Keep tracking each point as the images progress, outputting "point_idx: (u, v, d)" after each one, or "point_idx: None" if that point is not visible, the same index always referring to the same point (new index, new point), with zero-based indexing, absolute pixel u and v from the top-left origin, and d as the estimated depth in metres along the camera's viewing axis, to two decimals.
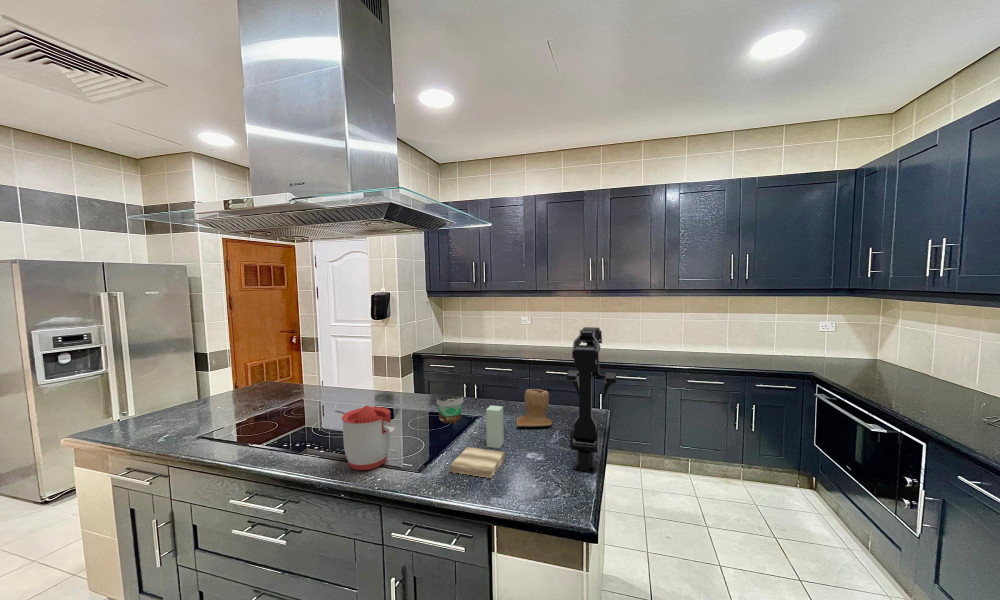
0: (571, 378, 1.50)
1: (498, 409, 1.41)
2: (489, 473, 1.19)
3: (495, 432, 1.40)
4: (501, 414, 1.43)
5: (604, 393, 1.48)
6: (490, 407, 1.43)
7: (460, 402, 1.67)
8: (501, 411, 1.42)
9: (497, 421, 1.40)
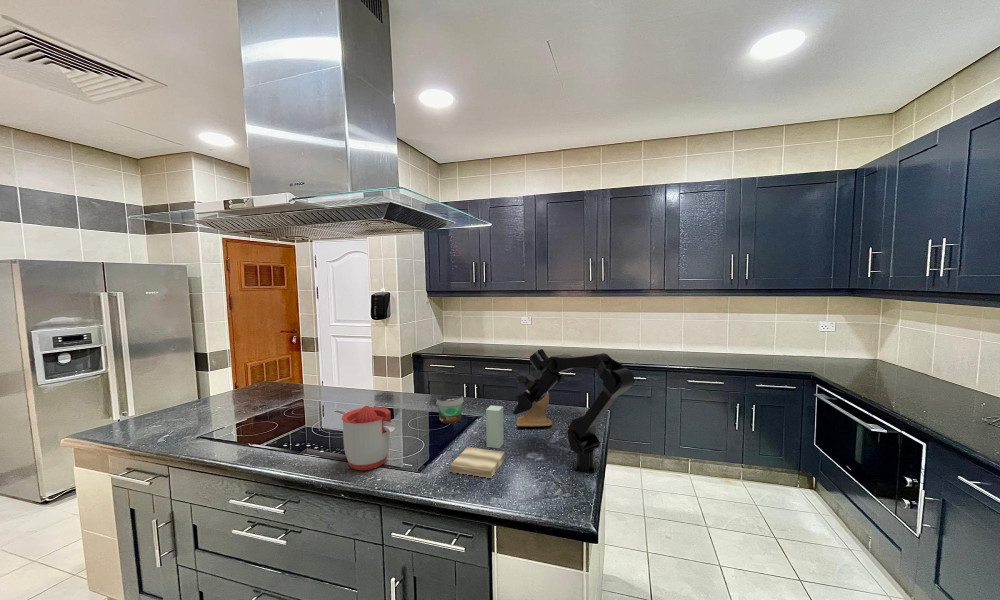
0: None
1: (498, 409, 1.41)
2: (489, 473, 1.19)
3: (495, 432, 1.40)
4: (501, 414, 1.43)
5: None
6: (490, 407, 1.43)
7: (460, 402, 1.67)
8: (501, 411, 1.42)
9: (497, 421, 1.40)
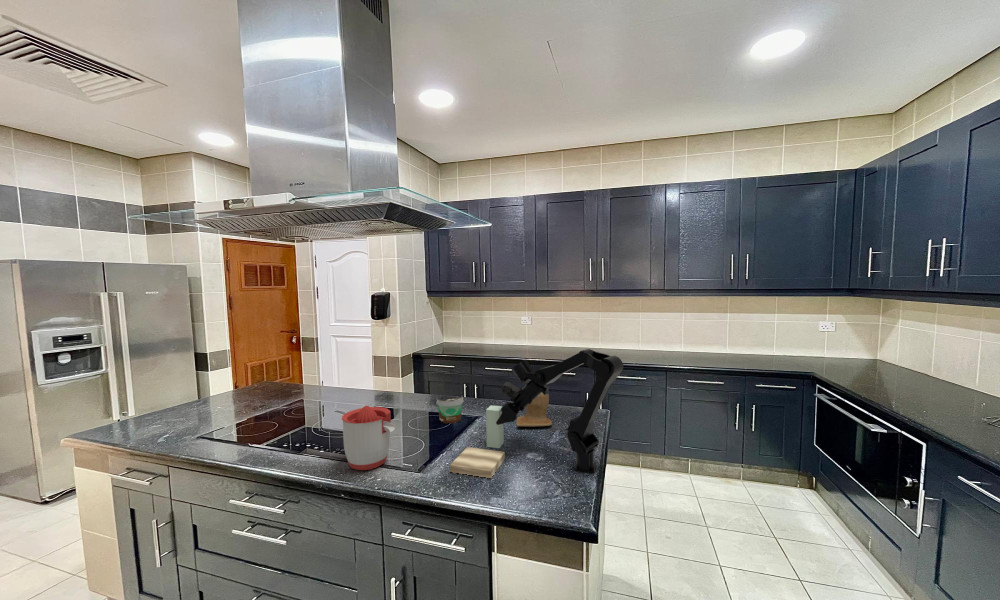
0: None
1: (498, 409, 1.41)
2: (489, 473, 1.19)
3: (495, 432, 1.40)
4: None
5: None
6: (490, 407, 1.43)
7: (460, 402, 1.67)
8: (501, 411, 1.42)
9: None
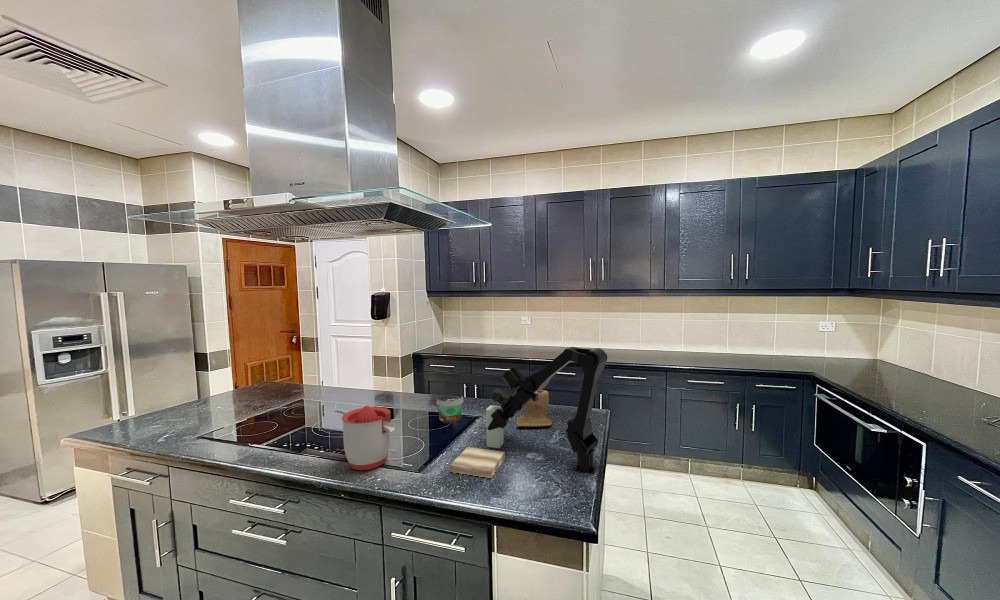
0: (505, 425, 1.34)
1: None
2: (489, 473, 1.19)
3: (495, 432, 1.40)
4: None
5: None
6: (490, 407, 1.43)
7: (460, 402, 1.67)
8: None
9: None
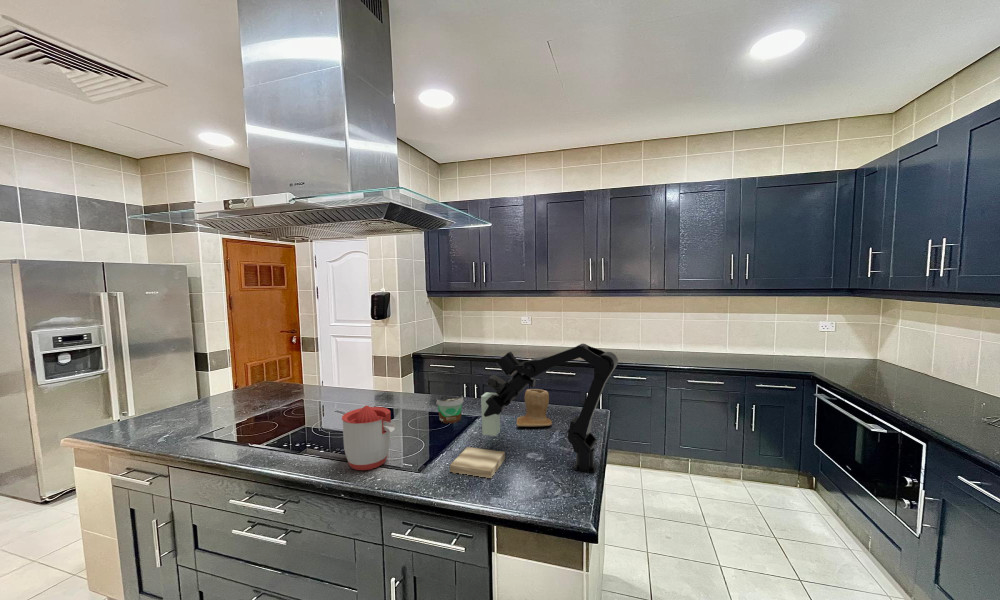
0: None
1: None
2: (489, 473, 1.19)
3: (491, 419, 1.36)
4: None
5: None
6: (485, 394, 1.39)
7: (460, 402, 1.67)
8: None
9: None
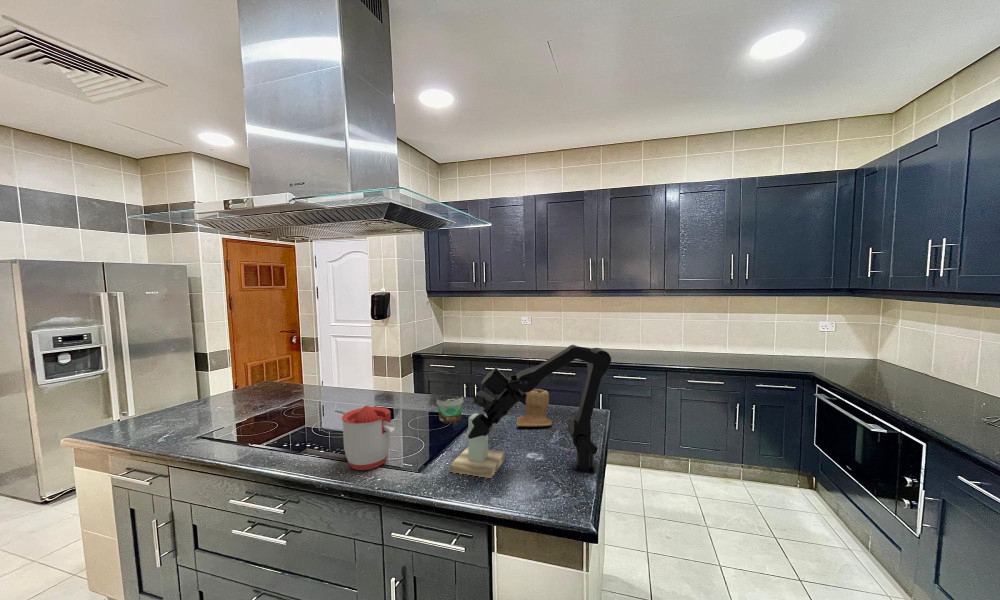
0: None
1: None
2: (489, 473, 1.19)
3: (478, 444, 1.24)
4: None
5: None
6: (473, 415, 1.27)
7: (460, 402, 1.67)
8: None
9: None
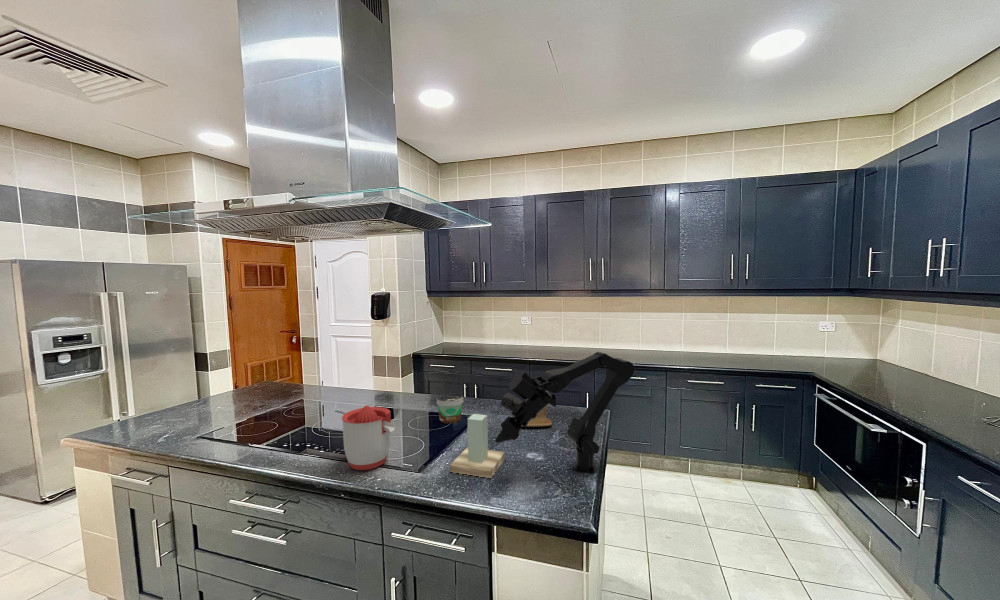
0: None
1: (481, 418, 1.25)
2: (489, 473, 1.19)
3: (478, 444, 1.24)
4: (485, 424, 1.27)
5: None
6: (472, 416, 1.27)
7: (460, 402, 1.67)
8: (485, 420, 1.26)
9: (480, 432, 1.24)
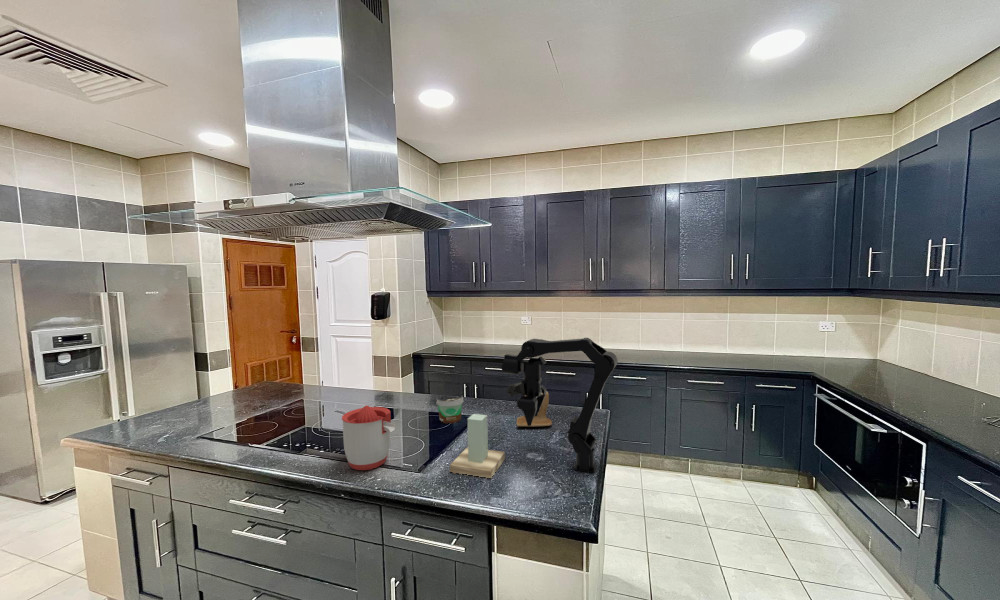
0: (536, 405, 1.24)
1: (481, 418, 1.25)
2: (489, 473, 1.19)
3: (478, 444, 1.24)
4: (485, 424, 1.27)
5: (539, 408, 1.36)
6: (472, 416, 1.27)
7: (460, 402, 1.67)
8: (485, 420, 1.26)
9: (480, 432, 1.24)
